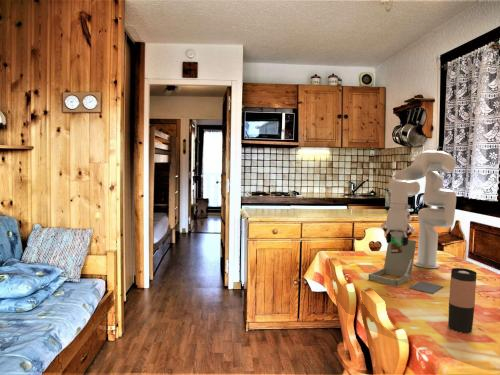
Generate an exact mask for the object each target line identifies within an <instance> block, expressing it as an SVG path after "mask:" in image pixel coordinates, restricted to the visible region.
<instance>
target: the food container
mask: <svg viewBox="0 0 500 375" xmlns="http://www.w3.org/2000/svg"><path fill="white" fill-rule="evenodd" d="M390 234H391V253H402V248H403V237H404V234H403V232H401V231H394V230H392V231H391V233H390Z"/></svg>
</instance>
